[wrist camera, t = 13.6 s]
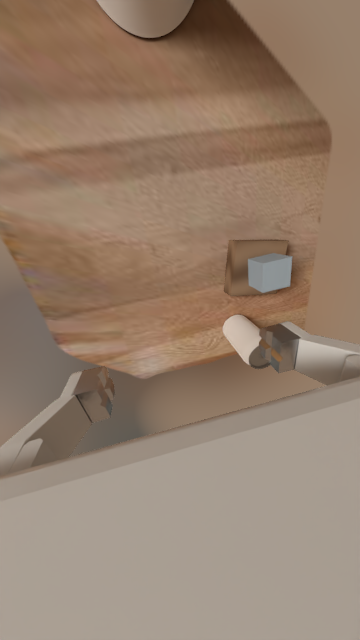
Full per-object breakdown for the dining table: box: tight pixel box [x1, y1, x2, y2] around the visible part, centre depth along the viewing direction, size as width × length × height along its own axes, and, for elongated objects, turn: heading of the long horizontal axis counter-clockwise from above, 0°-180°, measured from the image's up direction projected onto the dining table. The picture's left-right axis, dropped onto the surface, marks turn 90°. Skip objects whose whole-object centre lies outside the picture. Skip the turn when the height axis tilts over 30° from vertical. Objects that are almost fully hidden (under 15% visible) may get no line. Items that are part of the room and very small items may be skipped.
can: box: [223, 315, 271, 369], centre depth 40 cm, size 6×6×12 cm
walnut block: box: [224, 240, 289, 296], centre depth 38 cm, size 10×10×4 cm
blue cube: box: [248, 253, 292, 293], centre depth 34 cm, size 5×5×5 cm
